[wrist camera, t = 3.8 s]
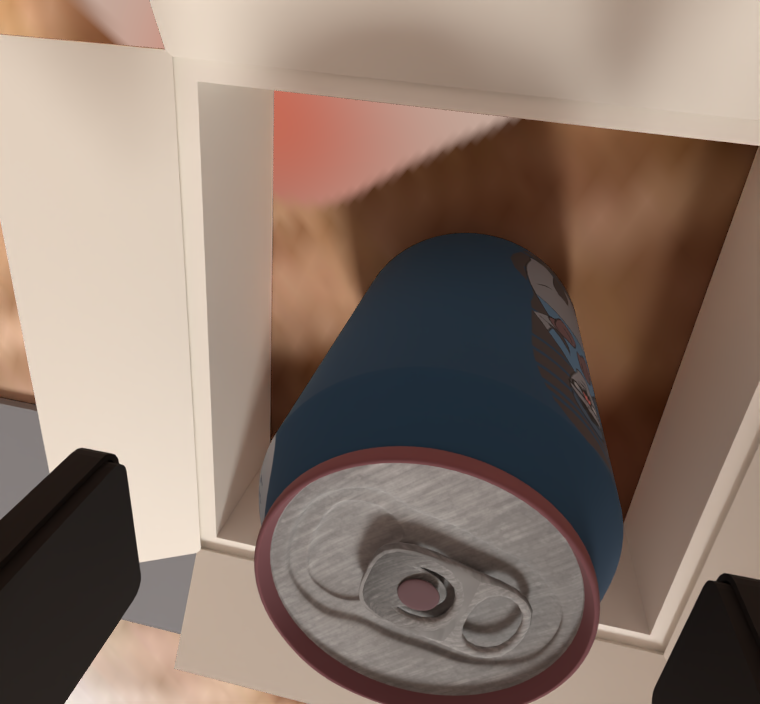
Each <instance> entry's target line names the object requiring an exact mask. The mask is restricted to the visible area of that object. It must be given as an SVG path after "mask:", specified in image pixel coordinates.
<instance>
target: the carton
mask: <svg viewBox="0 0 760 704" xmlns="http://www.w3.org/2000/svg"><path fill="white" fill-rule="evenodd" d="M149 2H150V5H151V8H152V11H153V14H154V17H155V20H156V23H157V26H158V29H159V32H160V36H161V38H162V42H163V45H164V48H165V49H160V48H149V47H138V46H128V45H117V44H106V43H95V42H84V41H73V40H62V39H51V38H40V37H29V36H18V35H7V34H0V221H1V226H2V232H3V237H4V242H5V247H6V252H7V257H8V262H9V268H10V273H11V278H12V283H13V288H14V293H15V298H16V303H17V309H18V314H19V319H20V324H21V329H22V334H23V339H24V344H25V350H26V355H27V360H28V365H29V370H30V375H31V380H32V385H33V391H34V396H35V401H36V406H37V411H38V416H39V421H40V427H41V432H42V437H43V442H44V447H45V452H46V457H47V462H48V468H49V473H51V472H52V471H53V470H54V469H55V468H56V467H57V466H58V465H59V464H60V463H61V462H62V461H63V460H65V459H66V458H67V457H68V456H69V455H70V454H71V453H72V452H73V451H75V450H76V449H78V448H87V449H92V450H97V451H102V452H107V453H112V454H115V455H116V456H117V458H118V460H119V464H122V465H124V466H125V467H126V471H127V477H128V484H129V492H130V499H131V506H132V513H133V521H134V528H135V535H136V542H137V550H138V557H139V563H140V562H146V561H152V560H158V559H164V558H170V557H176V556H182V555H188V554H194V553H196V558H195V563H194V568H193V574H192V579H191V584H190V589H189V594H188V599H187V604H186V610H185V615H184V620H183V625H182V630H181V635H180V641H179V646H178V651H177V656H176V661H175V666H174V669H177V670H181V671H185V672H189V673H192V674H196V675H200V676H204V677H208V678H212V679H216V680H219V681H223V682H227V683H231V684H235V685H239V686H242V687H246V688H250V689H254V690H258V691H262V692H266V693H269V694H273V695H277V696H281V697H285V698H289V699H292V700H296V701H300V702H304V703H308V704H381V703H378V702H375V701H372V700H369V699H367V698H364V697H362V696H359V695H357V694H355V693H352V692H350V691H348V690H346V689H344V688H342V687H340V686H338V685H337V684H335V683H333V682H331V681H330V680H328V679H326V678H325V677H323V676H322V675H320V674H319V673H318V672H316V671H315V670H314V669H313V668H311V667H310V666H309V665H308V664H307V663H306V662H304V661H303V660H302V659H301V658H300V657H299V656H298V655H297V654H296V653H295V651H294V650H293V649H292V648H291V647H290V646H289V645H288V644H287V642H286V641H285V640H284V639H283V637H282V636H281V635H280V633H279V632H278V631H277V629H276V628H275V626H274V625H273V623H272V621H271V620H270V618H269V616H268V614H267V612H266V610H265V608H264V606H263V604H262V601H261V598H260V595H259V592H258V589H257V584H256V579H255V571H254V554H255V547H256V541H257V538H258V534H259V531H260V528H261V520H260V512H259V480H260V474H261V469H262V465H263V461H264V458H265V455H266V452H267V450H268V447H269V445H270V414H271V322H272V229H273V136H274V125H273V124H274V90H276V91H277V90H278V91H285V92H294V93H304V94H311V95H320V96H329V97H338V98H347V99H355V100H364V101H373V102H382V103H390V104H399V105H408V106H416V107H425V108H434V109H443V110H451V111H461V112H470V113H477V114H486V115H495V116H503V117H512V118H521V119H530V120H538V121H547V122H556V123H565V124H573V125H582V126H591V127H600V128H608V129H617V130H626V131H634V132H643V133H652V134H661V135H669V136H678V137H687V138H696V139H704V140H713V141H722V142H731V143H739V144H748V145H757V146H758V149H757V152H756V155H755V158H754V160H753V163H752V166H751V169H750V172H749V174H748V177H747V180H746V183H745V186H744V188H743V191H742V194H741V197H740V200H739V202H738V205H737V208H736V211H735V214H734V216H733V219H732V222H731V225H730V228H729V230H728V233H727V236H726V239H725V241H724V244H723V247H722V250H721V253H720V255H719V258H718V261H717V264H716V267H715V269H714V272H713V275H712V278H711V281H710V283H709V286H708V289H707V292H706V295H705V297H704V300H703V303H702V306H701V309H700V311H699V314H698V317H697V320H696V322H695V325H694V328H693V331H692V334H691V336H690V339H689V342H688V345H687V348H686V350H685V353H684V356H683V359H682V362H681V364H680V367H679V370H678V373H677V376H676V378H675V381H674V384H673V387H672V390H671V392H670V395H669V398H668V401H667V403H666V406H665V409H664V412H663V415H662V417H661V420H660V423H659V426H658V429H657V431H656V434H655V437H654V440H653V443H652V445H651V448H650V451H649V454H648V457H647V459H646V462H645V465H644V468H643V471H642V473H641V476H640V479H639V482H638V485H637V487H636V490H635V493H634V496H633V498H632V501H631V504H630V507H629V510H628V512H627V515H626V518H625V521H624V523H623V544H622V551H621V556H620V560H619V563H618V566H617V569H616V572H615V575H614V577H613V579H612V582H611V584H610V586H609V588H608V590H607V592H606V593H605V595H604V597H603V599H602V600H601V602H600V617H599V625H598V630H597V634H596V637H595V640H594V643H593V645H592V647H591V649H590V651H589V653H588V655H587V657H586V658H585V660H584V661H583V663H582V664H581V665H580V667H579V668H578V669H577V671H576V672H575V673H574V674H573V675H572V676H571V677H570V678H569V679H568V680H567V681H565V682H564V683H563V684H562V685H561V686H559V687H558V688H556V689H555V690H554V691H552V692H550V693H549V694H547V695H546V696H544V697H542V698H540V699H538V700H536V701H533V702H531V703H529V704H652V694H653V690H654V687H655V685H656V683H657V681H658V679H659V677H660V675H661V673H662V671H663V669H664V667H665V665H666V663H667V660H668V658H669V656H670V654H671V652H672V650H673V648H674V646H675V644H676V642H677V640H678V638H679V636H680V634H681V631H682V629H683V627H684V625H685V623H686V621H687V619H688V617H689V615H690V613H691V611H692V609H693V607H694V605H695V602H696V600H697V598H698V596H699V594H700V592H701V590H702V588H703V586H704V584H705V583H706V582H707V581H708V580H712V581H716V580H717V578H718V577H719V576H720V575H721V574H723V573H728V574H733V575H739V576H744V577H749V578H754V579H759V580H760V0H149Z"/></svg>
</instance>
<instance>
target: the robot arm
mask: <svg viewBox="0 0 760 704" xmlns="http://www.w3.org/2000/svg"><path fill="white" fill-rule="evenodd" d="M140 583H141V571H140V564H139V557H138V550H137V542H136V535H135V528H134V521H133V513H132V506H131V499H130V492H129V484H128V477H127V471H126V467H125V466H124V465H122V464H119V460H118V458H117V456H116V455H115V454H112V453H107V452H102V451H97V450H92V449H87V448H78V449H76V450H75V451H73V452H72V453H71V454H70V455H69V456H68V457H67V458H66V459H65V460H63V461H62V462H61V463H60V464H59V465H58V466H57V467H56V468H55V469H54V470H53V471H52V472H51V473H50V474H49V475H48V476H46V477H45V478H44V479H43V480H42V481H41V482H40V483H39V484H38V485H37V486H36V487H35V488H34V489H33V490H32V491H30V492H29V493H28V494H27V495H26V496H25V497H24V498H23V499H22V500H21V501H20V502H19V503H18V504H17V505H16V506H15V507H13V508H12V509H11V510H10V511H9V512H8V513H7V514H6V515H5V516H4V517H3V518H2V519H1V520H0V704H64V703H65V702H66V700H67V699H68V697H69V696H70V694H71V693H72V691H73V690H74V688H75V687H76V685H77V684H78V682H79V681H80V679H81V678H82V676H83V675H84V673H85V672H86V670H87V669H88V667H89V666H90V664H91V663H92V661H93V660H94V658H95V657H96V655H97V654H98V653H99V651H100V650H101V648H102V647H103V645H104V644H105V642H106V641H107V639H108V638H109V636H110V635H111V633H112V632H113V630H114V629H115V627H116V626H117V624H118V623H119V621H120V620H121V618H122V617H123V615H124V614H125V612H126V611H127V609H128V608H129V606H130V605H131V603H132V602H133V600H134V598H135V597H136V595H137V593H138V590H139V587H140ZM652 704H760V580H759V579H754V578H749V577H744V576H739V575H733V574H728V573H723V574H721V575H720V576H719V577H718V578H717V580H716V581H712V580H708V581H707V582H706V583H705V584H704V586H703V588H702V590H701V592H700V594H699V596H698V598H697V600H696V602H695V605H694V607H693V609H692V611H691V613H690V615H689V617H688V619H687V621H686V623H685V625H684V627H683V629H682V631H681V634H680V636H679V638H678V640H677V642H676V644H675V646H674V648H673V650H672V652H671V654H670V656H669V658H668V660H667V663H666V665H665V667H664V669H663V671H662V673H661V675H660V677H659V679H658V681H657V683H656V685H655V687H654V690H653V694H652Z"/></svg>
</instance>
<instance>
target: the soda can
mask: <svg viewBox="0 0 760 704" xmlns="http://www.w3.org/2000/svg"><path fill="white" fill-rule="evenodd" d="M259 512H260V520H261V528H260V531H259V534H258V538H257V541H256V547H255V554H254V571H255V579H256V584H257V589H258V592H259V595H260V598H261V601H262V604H263V606H264V608H265V610H266V612H267V614H268V616H269V618H270V620H271V621H272V623H273V625H274V626H275V628H276V629H277V631H278V632H279V633H280V635H281V636H282V637H283V639H284V640H285V641H286V642H287V644H288V645H289V646H290V647H291V648H292V649H293V650H294V651H295V653H296V654H297V655H298V656H299V657H300V658H301V659H302V660H303V661H304V662H306V663H307V664H308V665H309V666H310V667H311V668H313V669H314V670H315V671H316V672H318V673H319V674H320V675H322V676H323V677H325V678H326V679H328V680H330V681H331V682H333V683H335V684H337V685H338V686H340V687H342V688H344V689H346V690H348V691H350V692H352V693H355V694H357V695H359V696H362V697H364V698H367V699H369V700H372V701H375V702H378V703H381V704H529V703H531V702H533V701H536V700H538V699H540V698H542V697H544V696H546V695H547V694H549V693H550V692H552V691H554V690H555V689H556V688H558V687H559V686H561V685H562V684H563V683H564V682H565V681H567V680H568V679H569V678H570V677H571V676H572V675H573V674H574V673H575V672H576V671H577V669H578V668H579V667H580V665H581V664H582V663H583V661H584V660H585V658H586V657H587V655H588V653H589V651H590V649H591V647H592V645H593V643H594V640H595V637H596V634H597V630H598V625H599V617H600V602H601V600H602V599H603V597H604V595H605V593H606V592H607V590H608V588H609V586H610V584H611V582H612V579H613V577H614V575H615V572H616V569H617V566H618V563H619V560H620V556H621V551H622V544H623V517H622V509H621V505H620V501H619V496H618V492H617V488H616V483H615V479H614V475H613V471H612V467H611V462H610V458H609V454H608V450H607V445H606V441H605V437H604V433H603V428H602V424H601V420H600V416H599V412H598V407H597V403H596V399H595V395H594V390H593V386H592V382H591V378H590V373H589V369H588V365H587V361H586V357H585V352H584V348H583V344H582V340H581V335H580V331H579V327H578V323H577V318H576V314H575V310H574V307H573V304H572V302H571V299H570V297H569V295H568V293H567V291H566V289H565V287H564V286H563V284H562V282H561V281H560V280H559V278H558V277H557V276H556V274H555V273H554V272H553V271H552V270H551V269H550V268H549V267H548V266H547V265H546V264H545V263H544V262H543V261H542V260H541V259H539V258H538V257H537V256H535V255H534V254H533V253H531V252H530V251H528V250H526V249H525V248H523V247H521V246H519V245H517V244H515V243H512V242H510V241H507V240H505V239H502V238H498V237H494V236H490V235H485V234H476V233H455V234H447V235H442V236H437V237H434V238H430V239H427V240H425V241H422V242H420V243H417V244H415V245H413V246H411V247H410V248H408V249H406V250H405V251H403V252H402V253H400V254H399V255H397V256H396V257H395V258H394V259H392V260H391V261H390V262H389V263H388V264H387V265H386V266H385V267H384V268H383V269H382V270H381V271H380V273H379V274H378V275H377V277H376V278H375V280H374V281H373V283H372V284H371V286H370V287H369V289H368V291H367V292H366V294H365V295H364V297H363V298H362V300H361V301H360V303H359V305H358V306H357V308H356V309H355V311H354V312H353V314H352V316H351V317H350V319H349V320H348V322H347V323H346V325H345V326H344V328H343V330H342V331H341V333H340V334H339V336H338V337H337V339H336V341H335V342H334V344H333V345H332V347H331V348H330V350H329V351H328V353H327V355H326V356H325V358H324V359H323V361H322V362H321V364H320V366H319V367H318V369H317V370H316V372H315V373H314V375H313V376H312V378H311V380H310V381H309V383H308V384H307V386H306V387H305V389H304V391H303V392H302V394H301V395H300V397H299V398H298V400H297V401H296V403H295V405H294V406H293V408H292V409H291V411H290V412H289V414H288V416H287V417H286V419H285V420H284V422H283V423H282V425H281V426H280V428H279V430H278V431H277V433H276V434H275V436H274V438H273V439H272V441H271V443H270V445H269V447H268V450H267V452H266V455H265V458H264V461H263V465H262V469H261V474H260V480H259Z"/></svg>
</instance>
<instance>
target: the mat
mask: <svg viewBox="0 0 760 704" xmlns="http://www.w3.org/2000/svg"><path fill="white" fill-rule="evenodd" d="M49 474H50V473H49V468H48V462H47V457H46V452H45V447H44V442H43V437H42V432H41V427H40V421H39V416H38V411H37V406H36V405H34V404H30V403H25V402H20V401H15V400H10V399H5V398H0V520H1V519H2V518H3V517H4V516H5V515H6V514H7V513H8V512H9V511H10V510H11V509H12V508H13V507H15V506H16V505H17V504H18V503H19V502H20V501H21V500H22V499H23V498H24V497H25V496H26V495H27V494H28V493H29V492H30V491H32V490H33V489H34V488H35V487H36V486H37V485H38V484H39V483H40V482H41V481H42V480H43V479H44V478H45V477H46V476H48V475H49ZM195 558H196V553H194V554H188V555H182V556H176V557H170V558H164V559H158V560H152V561H146V562H140V563H139V564H140V571H141V583H140V587H139V590H138V593H137V595H136V597H135V598H134V600H133V602H132V603H131V605H130V606H129V608H128V609H127V611H126V612H125V614H124V615H123V617H122V618H121V619H123V620H127V621H130V622H134V623H138V624H142V625H146V626H150V627H154V628H158V629H162V630H166V631H170V632H174V633H178V634H181V630H182V625H183V620H184V615H185V610H186V604H187V599H188V594H189V589H190V584H191V579H192V574H193V568H194V563H195Z"/></svg>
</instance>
